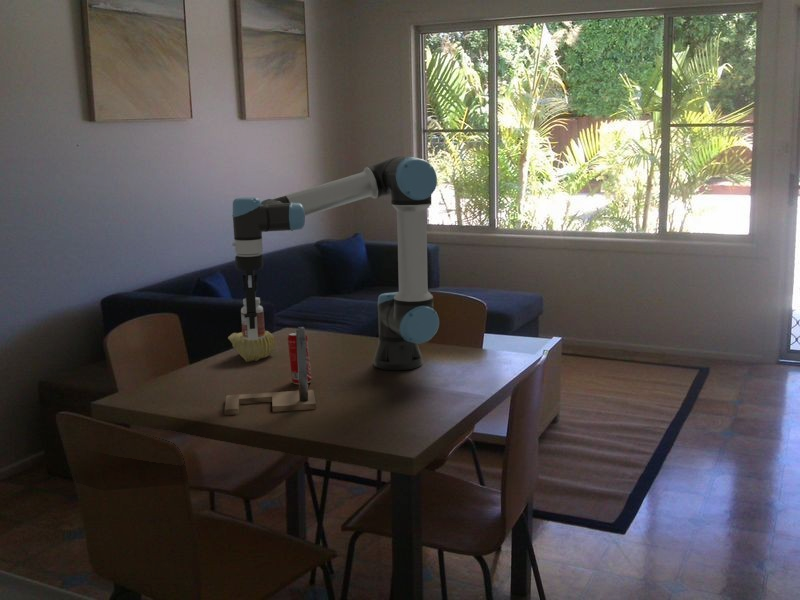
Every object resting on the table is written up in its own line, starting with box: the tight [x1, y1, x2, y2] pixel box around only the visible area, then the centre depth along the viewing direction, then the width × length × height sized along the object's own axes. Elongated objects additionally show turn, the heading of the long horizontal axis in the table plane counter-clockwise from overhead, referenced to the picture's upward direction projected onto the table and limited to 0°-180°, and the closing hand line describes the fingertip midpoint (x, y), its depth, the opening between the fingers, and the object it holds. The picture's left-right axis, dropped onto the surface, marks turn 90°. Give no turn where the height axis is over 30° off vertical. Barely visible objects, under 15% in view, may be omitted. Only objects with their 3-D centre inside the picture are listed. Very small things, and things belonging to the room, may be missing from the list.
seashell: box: [227, 330, 276, 363], centre depth 294 cm, size 17×11×15 cm
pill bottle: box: [240, 296, 266, 340], centre depth 248 cm, size 6×6×11 cm
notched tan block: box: [224, 389, 317, 416], centre depth 244 cm, size 24×13×2 cm, turn 98°
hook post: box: [295, 326, 309, 402], centre depth 238 cm, size 2×8×23 cm, turn 8°
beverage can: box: [287, 331, 313, 385], centre depth 264 cm, size 6×6×15 cm
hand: (253, 336), depth 249 cm, fingers closed on pill bottle, 6 cm apart
